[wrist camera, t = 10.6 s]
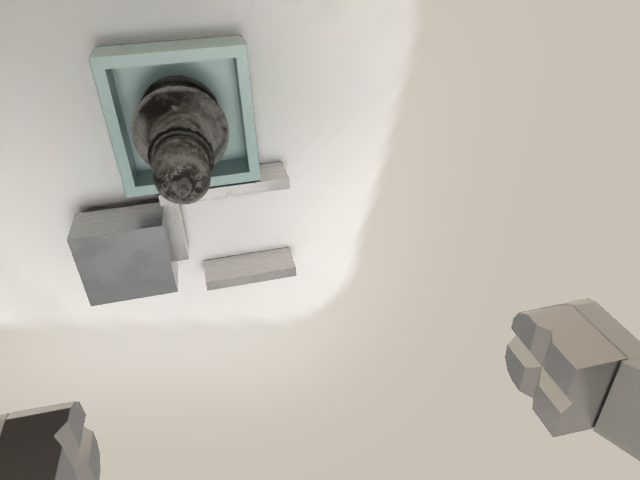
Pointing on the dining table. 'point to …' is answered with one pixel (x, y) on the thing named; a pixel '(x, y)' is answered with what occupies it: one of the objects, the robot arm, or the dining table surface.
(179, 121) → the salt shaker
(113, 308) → the dining table surface
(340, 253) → the dining table surface
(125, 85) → the tray
